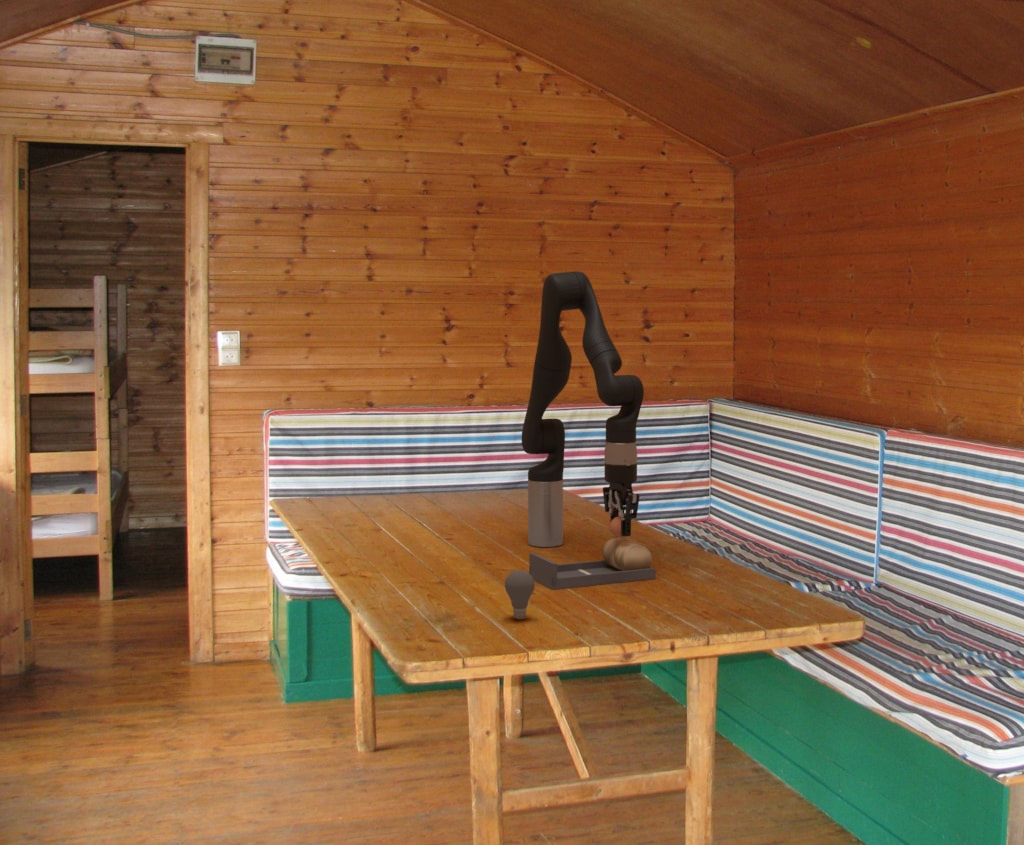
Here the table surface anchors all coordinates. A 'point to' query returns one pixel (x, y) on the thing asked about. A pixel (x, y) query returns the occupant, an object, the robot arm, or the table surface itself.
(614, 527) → the ball
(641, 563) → the log roller
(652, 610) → the table surface
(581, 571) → the runway
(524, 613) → the light bulb
